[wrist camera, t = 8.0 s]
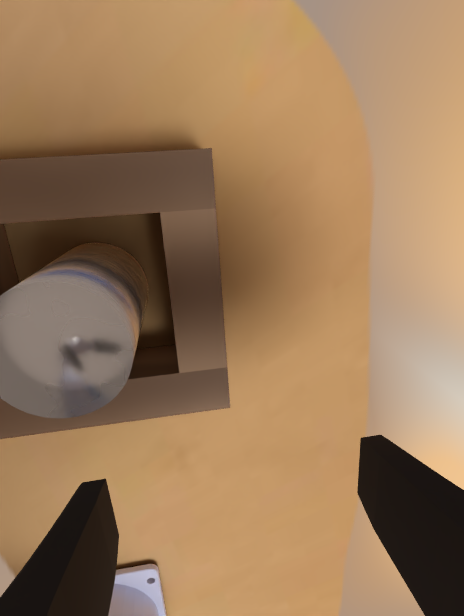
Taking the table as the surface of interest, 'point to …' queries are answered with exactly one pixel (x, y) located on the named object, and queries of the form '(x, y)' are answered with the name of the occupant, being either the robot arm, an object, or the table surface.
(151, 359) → the walnut socket block
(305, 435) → the table surface
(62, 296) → the metal peg
